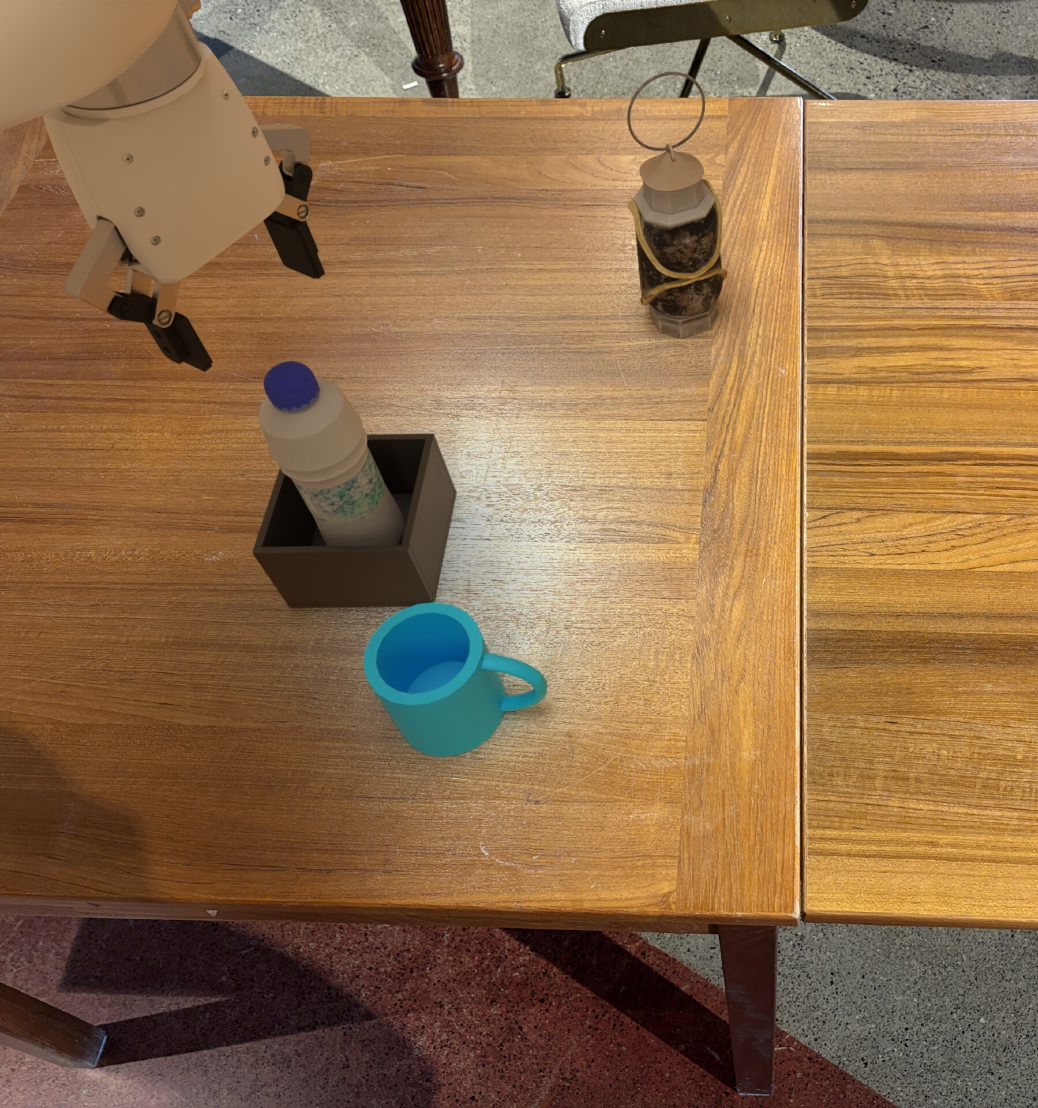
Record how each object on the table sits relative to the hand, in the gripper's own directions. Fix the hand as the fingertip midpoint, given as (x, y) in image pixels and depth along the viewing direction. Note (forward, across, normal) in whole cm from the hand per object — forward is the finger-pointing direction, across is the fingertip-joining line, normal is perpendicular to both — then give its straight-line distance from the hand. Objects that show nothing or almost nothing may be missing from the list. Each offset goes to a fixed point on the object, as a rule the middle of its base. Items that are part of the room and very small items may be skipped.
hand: (251, 314), depth 67 cm
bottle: (+26, 0, 0) cm, 26 cm away
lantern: (+26, -37, +7) cm, 46 cm away
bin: (+26, -1, 0) cm, 26 cm away
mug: (+26, +7, +16) cm, 32 cm away
